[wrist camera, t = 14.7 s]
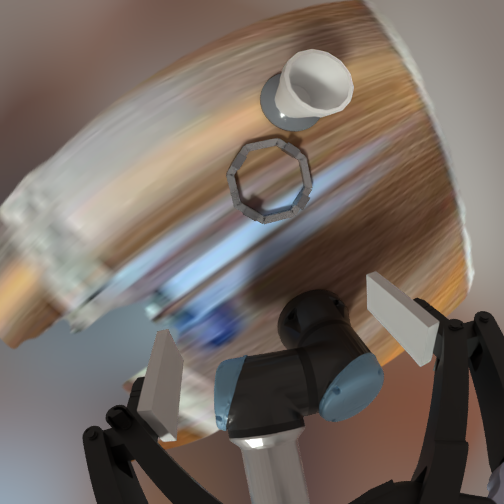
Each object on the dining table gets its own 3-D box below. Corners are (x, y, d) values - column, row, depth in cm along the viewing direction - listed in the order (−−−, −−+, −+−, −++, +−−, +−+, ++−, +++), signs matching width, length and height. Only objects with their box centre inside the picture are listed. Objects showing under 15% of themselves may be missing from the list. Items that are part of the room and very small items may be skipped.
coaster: (327, 127, 43) (329, 126, 42) (268, 136, 42) (269, 136, 42) (313, 71, 39) (314, 70, 38) (253, 78, 39) (254, 76, 38)
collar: (314, 210, 48) (319, 212, 45) (239, 229, 47) (240, 232, 45) (299, 134, 43) (303, 133, 41) (220, 150, 42) (220, 150, 40)
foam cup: (328, 110, 41) (365, 95, 29) (288, 136, 42) (315, 127, 30) (296, 67, 38) (324, 39, 26) (254, 92, 39) (268, 67, 27)
